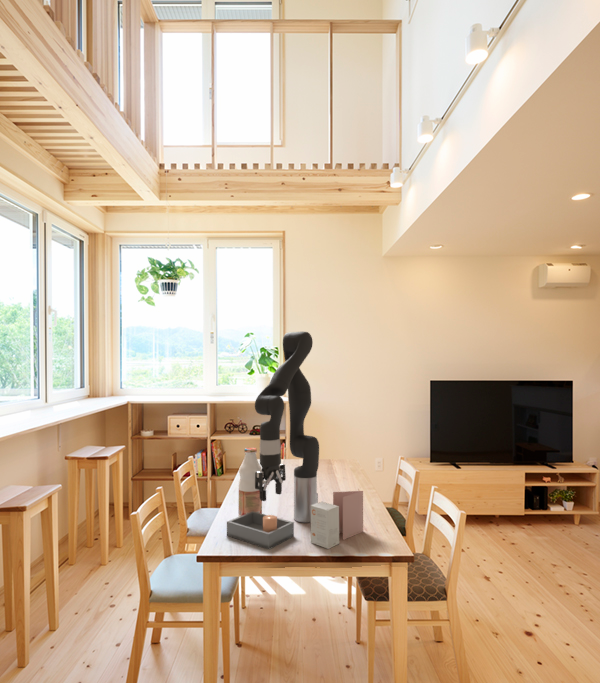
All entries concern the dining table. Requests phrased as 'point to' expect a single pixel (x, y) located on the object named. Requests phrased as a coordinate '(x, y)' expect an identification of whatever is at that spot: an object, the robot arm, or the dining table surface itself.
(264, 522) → the peach rounded piece
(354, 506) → the greeting card
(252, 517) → the tote
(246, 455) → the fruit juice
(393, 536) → the dining table surface
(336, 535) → the small box
